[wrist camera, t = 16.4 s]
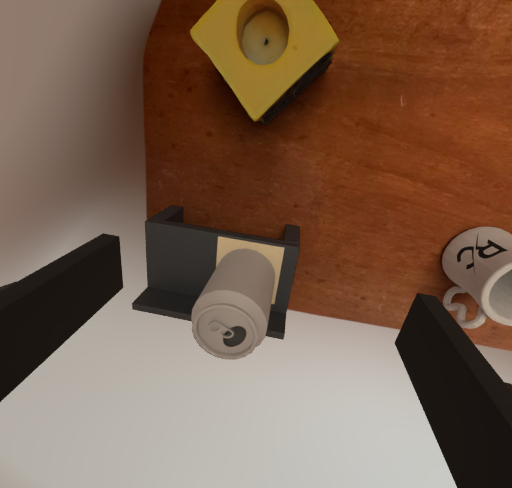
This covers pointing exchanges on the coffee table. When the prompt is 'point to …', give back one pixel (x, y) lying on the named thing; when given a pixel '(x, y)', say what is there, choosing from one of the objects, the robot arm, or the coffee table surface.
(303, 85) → the candle
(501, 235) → the mug
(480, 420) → the robot arm
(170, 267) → the shelf
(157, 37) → the coffee table surface
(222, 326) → the can
